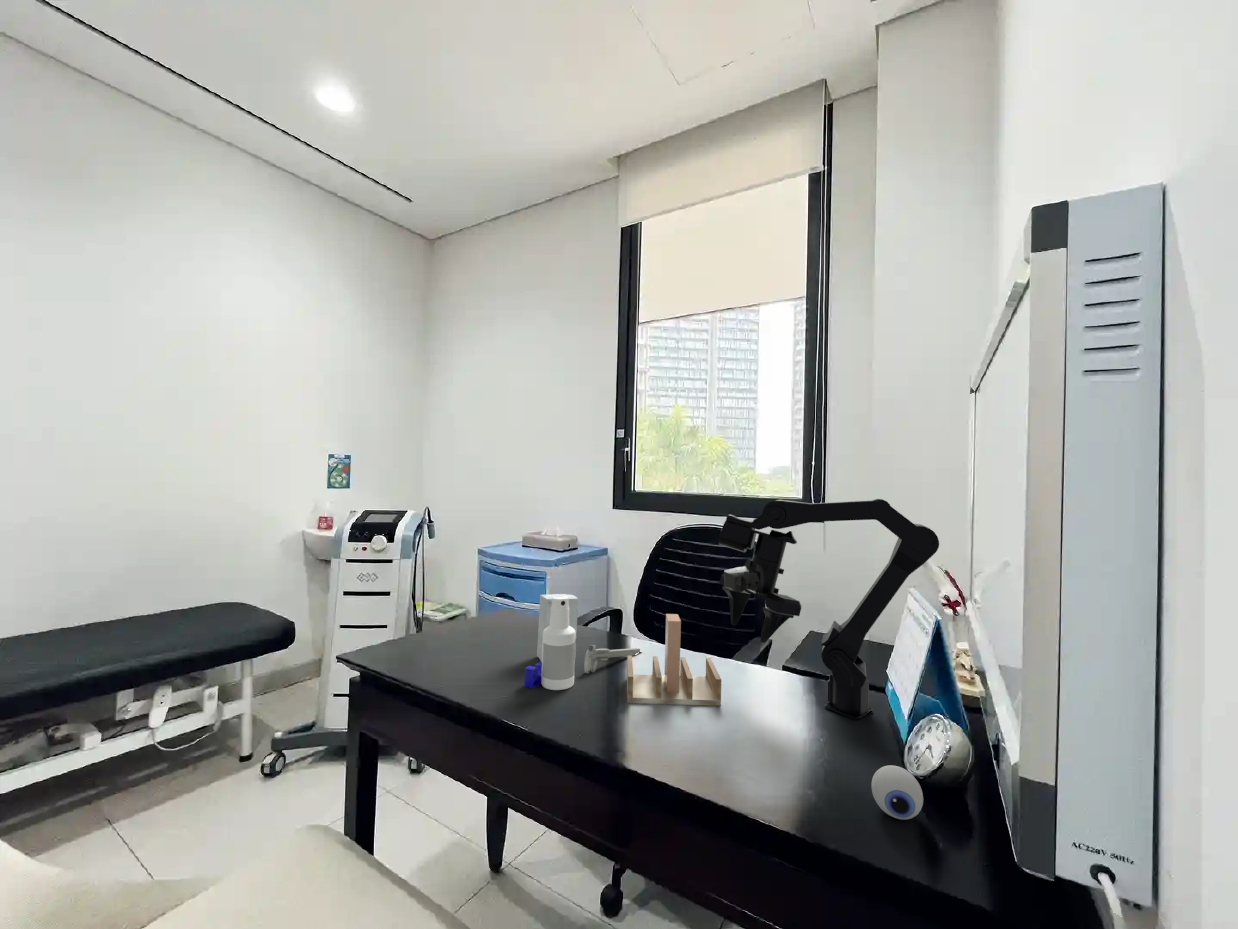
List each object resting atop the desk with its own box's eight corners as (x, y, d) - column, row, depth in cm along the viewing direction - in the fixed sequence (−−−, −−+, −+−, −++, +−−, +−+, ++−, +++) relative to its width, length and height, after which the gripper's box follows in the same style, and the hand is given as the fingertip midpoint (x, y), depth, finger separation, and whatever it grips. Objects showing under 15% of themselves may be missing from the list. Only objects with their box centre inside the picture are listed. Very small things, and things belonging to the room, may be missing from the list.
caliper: (587, 676, 113) (588, 647, 113) (584, 674, 114) (584, 646, 114) (642, 653, 129) (643, 628, 129) (639, 652, 130) (640, 627, 130)
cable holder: (539, 673, 114) (539, 655, 114) (553, 676, 112) (553, 657, 112) (518, 686, 106) (518, 666, 107) (532, 689, 105) (533, 669, 105)
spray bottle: (547, 693, 103) (550, 602, 103) (536, 681, 109) (539, 595, 109) (579, 687, 106) (581, 599, 107) (566, 676, 112) (569, 592, 113)
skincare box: (542, 664, 118) (544, 599, 119) (536, 656, 124) (538, 594, 125) (577, 660, 122) (579, 597, 122) (569, 652, 127) (571, 592, 128)
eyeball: (873, 822, 66) (874, 775, 66) (868, 796, 72) (869, 752, 72) (927, 835, 64) (927, 786, 64) (918, 807, 70) (918, 762, 70)
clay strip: (676, 681, 108) (677, 614, 109) (679, 692, 103) (680, 621, 103) (664, 681, 108) (666, 613, 109) (666, 691, 103) (668, 621, 103)
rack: (710, 681, 111) (710, 658, 111) (720, 705, 99) (721, 679, 99) (626, 678, 111) (627, 655, 112) (627, 702, 99) (628, 676, 100)
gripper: (709, 542, 111) (690, 612, 111) (769, 565, 94) (747, 649, 94) (748, 550, 116) (730, 618, 115) (812, 574, 99) (791, 654, 99)
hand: (747, 633), depth 106 cm, fingers open, 9 cm apart
